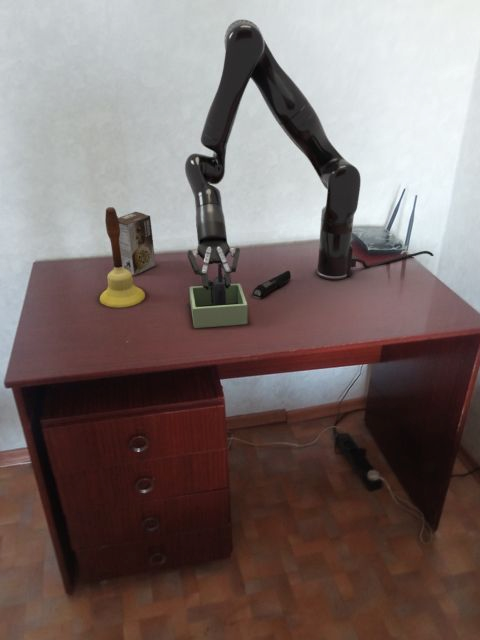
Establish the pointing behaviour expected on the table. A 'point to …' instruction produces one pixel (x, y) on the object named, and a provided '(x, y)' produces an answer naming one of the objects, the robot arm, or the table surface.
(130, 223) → the coffee box
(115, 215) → the handbell
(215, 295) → the two-way radio
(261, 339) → the table surface
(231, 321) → the square frame
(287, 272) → the electric trimmer
